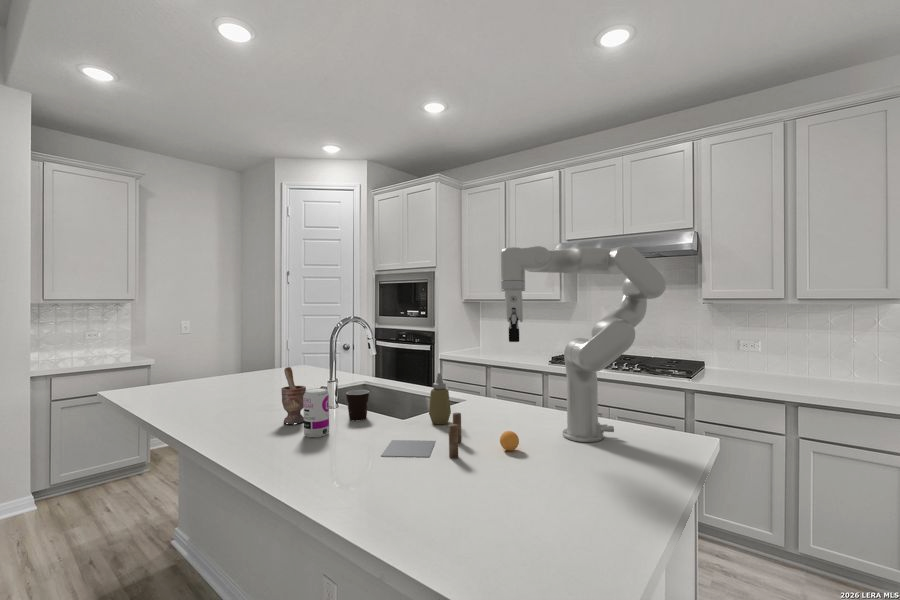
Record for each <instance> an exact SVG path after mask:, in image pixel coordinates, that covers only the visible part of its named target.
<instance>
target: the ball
mask: <svg viewBox="0 0 900 600" xmlns="http://www.w3.org/2000/svg"><path fill="white" fill-rule="evenodd" d="M499 443H500V446H501V447H502V449H504V450H505V451H509V452H512V451H514V450H516V449H517V448H518V447H519V443H520V438H519V436H518V435H517V433H516V432H514V431H512V430H506V431H504V432H503V433H501V435H500V437H499Z"/></svg>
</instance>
